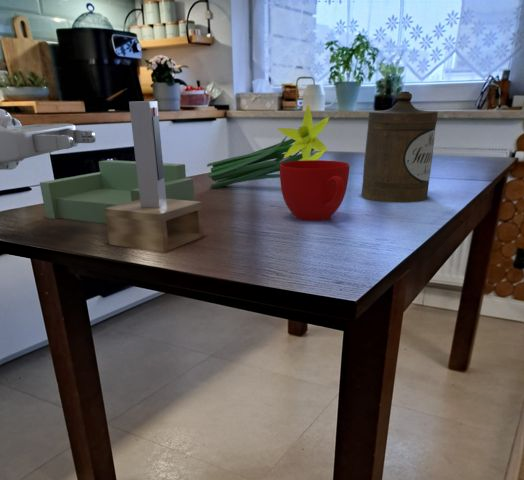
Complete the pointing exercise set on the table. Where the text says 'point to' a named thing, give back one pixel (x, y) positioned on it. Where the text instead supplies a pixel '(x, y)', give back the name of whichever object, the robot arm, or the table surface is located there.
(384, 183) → the wooden container
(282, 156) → the daffodil flowers
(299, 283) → the table surface
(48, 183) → the sofa
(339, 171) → the ceramic cup
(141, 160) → the grey rectangular block
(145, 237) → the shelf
